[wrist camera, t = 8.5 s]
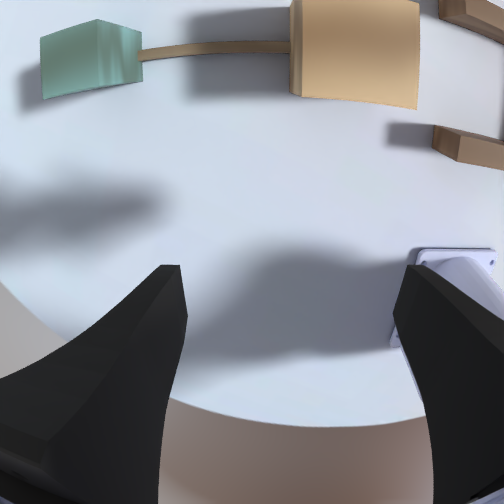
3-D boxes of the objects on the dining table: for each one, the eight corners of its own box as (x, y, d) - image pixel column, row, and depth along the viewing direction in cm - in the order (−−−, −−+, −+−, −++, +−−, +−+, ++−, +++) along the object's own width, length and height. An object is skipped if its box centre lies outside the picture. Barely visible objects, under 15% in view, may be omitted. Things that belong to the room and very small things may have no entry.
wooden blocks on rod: (376, 99, 16) (421, 111, 11) (97, 105, 16) (45, 121, 11) (379, 18, 13) (424, 1, 8) (94, 27, 13) (40, 18, 8)
